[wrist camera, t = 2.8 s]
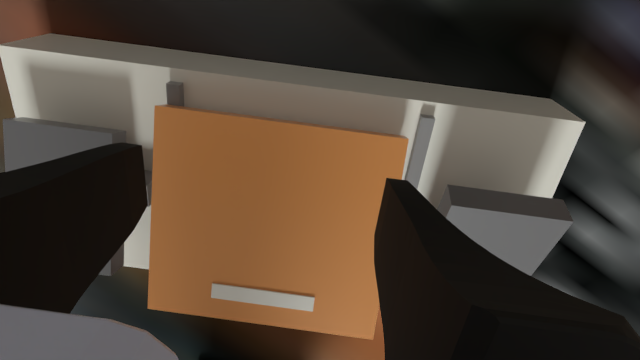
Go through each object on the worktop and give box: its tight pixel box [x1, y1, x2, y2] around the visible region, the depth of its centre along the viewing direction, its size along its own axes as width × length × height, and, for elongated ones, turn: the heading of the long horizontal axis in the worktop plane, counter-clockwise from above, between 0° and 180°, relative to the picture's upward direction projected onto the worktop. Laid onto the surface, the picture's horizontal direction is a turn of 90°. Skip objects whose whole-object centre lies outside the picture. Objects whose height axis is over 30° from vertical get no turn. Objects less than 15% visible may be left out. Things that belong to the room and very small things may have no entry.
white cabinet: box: [0, 33, 586, 269], centre depth 18 cm, size 10×22×4 cm, turn 84°
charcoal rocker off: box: [3, 117, 126, 276], centre depth 16 cm, size 6×4×1 cm
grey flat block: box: [437, 184, 573, 276], centre depth 16 cm, size 6×4×1 cm
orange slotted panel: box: [148, 104, 409, 340], centre depth 16 cm, size 8×9×1 cm
